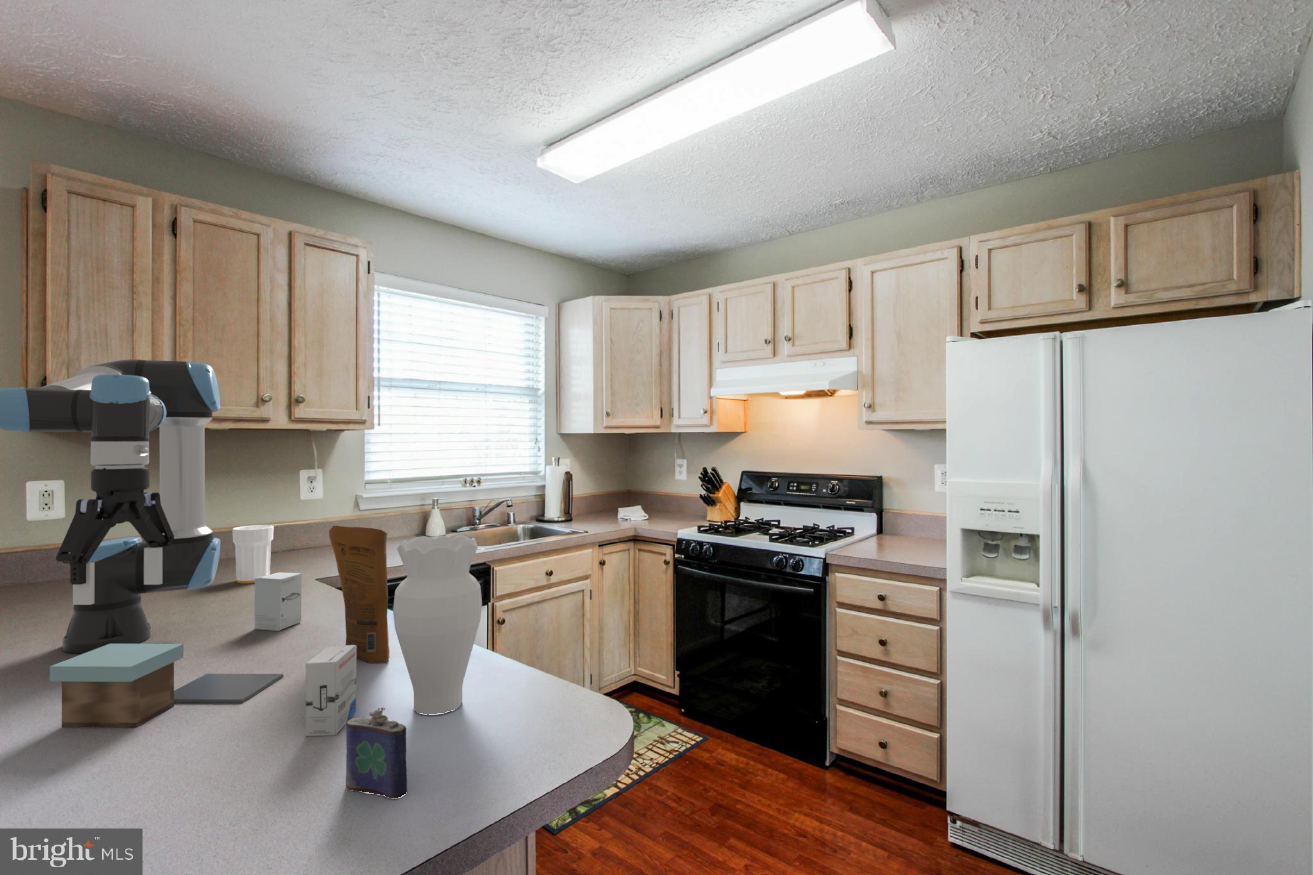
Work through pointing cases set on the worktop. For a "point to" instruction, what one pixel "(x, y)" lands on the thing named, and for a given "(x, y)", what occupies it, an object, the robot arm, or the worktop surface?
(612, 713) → the worktop surface
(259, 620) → the supplement box
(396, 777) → the flask
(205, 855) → the worktop surface
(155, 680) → the crate
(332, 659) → the ink box
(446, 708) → the vase
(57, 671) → the lid
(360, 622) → the pancake mix bag
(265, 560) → the cup
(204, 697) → the mat
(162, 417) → the robot arm
